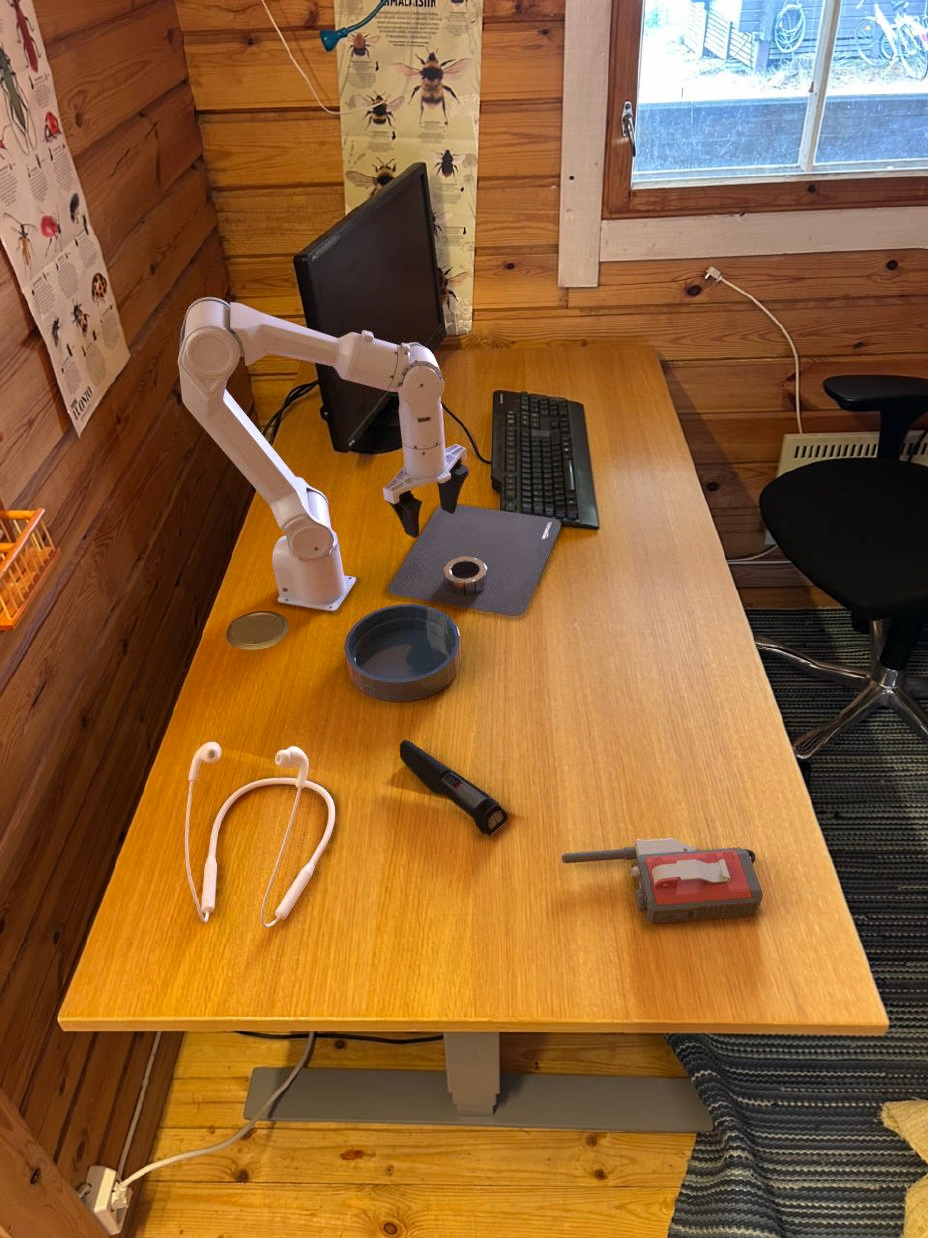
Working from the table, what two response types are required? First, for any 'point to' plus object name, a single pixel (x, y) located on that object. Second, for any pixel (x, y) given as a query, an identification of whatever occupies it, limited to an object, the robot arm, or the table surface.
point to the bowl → (403, 652)
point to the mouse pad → (479, 557)
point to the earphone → (284, 759)
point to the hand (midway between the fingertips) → (430, 522)
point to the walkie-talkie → (686, 879)
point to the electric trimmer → (454, 788)
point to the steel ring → (470, 584)
